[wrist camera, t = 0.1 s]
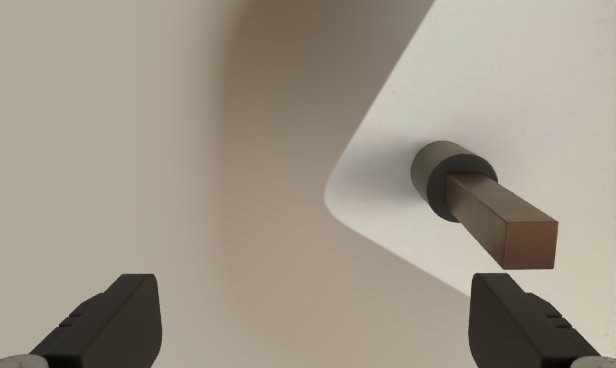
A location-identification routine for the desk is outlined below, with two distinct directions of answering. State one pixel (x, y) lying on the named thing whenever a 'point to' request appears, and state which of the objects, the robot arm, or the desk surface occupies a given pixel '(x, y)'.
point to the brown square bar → (484, 206)
